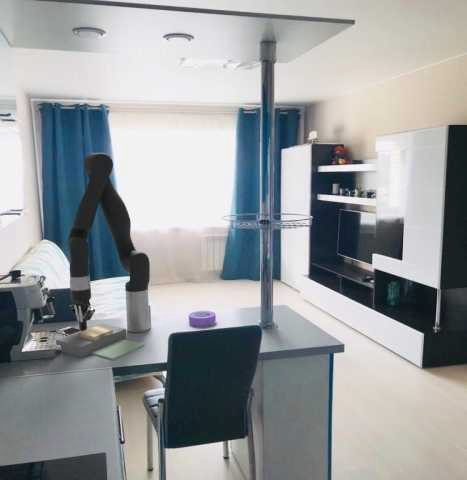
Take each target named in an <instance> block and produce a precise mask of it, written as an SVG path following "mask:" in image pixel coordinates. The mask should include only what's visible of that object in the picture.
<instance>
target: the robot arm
mask: <svg viewBox="0 0 467 480" xmlns="http://www.w3.org/2000/svg"><path fill="white" fill-rule="evenodd" d="M83 168H84V170H85V173H86V175H87V177H88V183H87V186H86V189H85V190H84V191H85V192H84V193H83V195H82V197H81V199H80V201H79V203H78V205H77V209H76V213H75V216H74V221H73V225H72V227H71V229H70V232H69V235H68V238H67V242H66V246H67V248H68V250H69V253H70V263H69V287H70V288H69V290H70V291H69V292H70V300H71V301H72V304H71V305H69V306H68V308H69V311H70V312H71V314H72V316H73V318H74V320H77V322H78V329H80V331H84V330H87V328H88V325H87V322H88V321H91V319H92V318H93V315H94V313H95V312H96V309H95V308H92V307H91V301H90V299H92V287H91V278H90V266H89V259H90V247H89V246H90V245H89V241H88V237H89V233H90V231H91V230H92V229H93V226H94V223H95V218H96V215H97V211H98V208H99V205H100V208H101V210H102V214H103V217H104V219H105V222H106V224H107V227H108V229H109V233H110V234H111V237H112V240H113V242H114V245H115V248H116V250H117V255H118V258H119V263H120V265H121V268H122V269H123V270H124V271H126V272H128V273H129V280H128V281H126V283H125V288H124V289H125V305H126V306H125V309H126V327H127V329H126V331H128V332H130V333H144V332H146V331H148V330H150V328H151V327H152V316H151V315H152V313H151V305H150V304H149V283H150V281H151V280H150V277H151V275H150V274H151V273H150V272H151V269H150V268H151V267H150V260H149V259H150V258H149V255H148V254H146V253H145V252H142V251H137V250H136V249H137V248H136V247H135V245H134V243H133V241H132V236H131V226H132V225H131V218H130V214H129V212H128V209H127V206H126V204H125V202H124V200H123V199H122V197H121V195H120V194H119V193H118V192H117V189H115V187H114V185H113V183H112V181H111V177H110V176H111V174H112V171H113V168H114V162H113V159H112V157H111V156H110V155H108V153H104V152H91V153H89V154H87V155H86V156H85V158H84V160H83Z"/></svg>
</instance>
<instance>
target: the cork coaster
mask: <svg viewBox="0 0 467 480" xmlns="http://www.w3.org/2000/svg"><path fill="white" fill-rule="evenodd" d="M94 326H95V327H93V326H92V327H93V328H90V327H89V328H90V329H87V330H84V331H82V332H79V333H78V337H82V338H86V339H89V340H93V341H95V340H98V339H101V338H103V337H106V336H108V335H111V334H113V330H111V329H107V328H102V327H98V326H96V325H94Z"/></svg>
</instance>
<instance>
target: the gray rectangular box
mask: <svg viewBox="0 0 467 480" xmlns="http://www.w3.org/2000/svg"><path fill="white" fill-rule="evenodd" d="M95 326H98V327H102V328H107V329H111V330H113V334H111V335H108V336H106V337H103V338H101V339H98V340H95V341H93V340H89V339H86V338H82V337H78V333H79V332H82V331H79V332H76V333H73V334H71V335H68V336H66V335H64V336H63V337H60V338H57V339H55V345H56V344H57V345H60V346H61V351H60V352H63V353H66V354H69V355H72V356H75V357H80V358H84V357H86V356H89V355H92V352H94V351H96V350H99V349H101V348H103V347H106V346H108V345H111V344H113V343H115V342H118V341H120V340H123V339H126V340H127V329H126V328H123V327H120V326H119V327H118V326H115V325H111V324H105V323H101V322H100V323H98V324H95V325H93V326H91V327H87V329H90V328H93V327H95Z"/></svg>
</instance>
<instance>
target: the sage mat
mask: <svg viewBox="0 0 467 480" xmlns="http://www.w3.org/2000/svg"><path fill="white" fill-rule="evenodd" d="M145 345H146V344H145V343H141V342H139V341H133V340H129V339H127V338H126V339H123V340H120V341H118V342H115V343H113V344H111V345H108V346H106V347H103V348H101V349H99V350H96V351H94V352H92V353H91V355H94V356H98V357H101V358H104V359H109V360H111V361H112V360H113V361H115V360H116V359H119V358H120V357H121V358H122V357H123V356H125V355H127V354H129V353H132V352H133V351H136V350H138V349H140V348H143V347H145Z"/></svg>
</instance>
